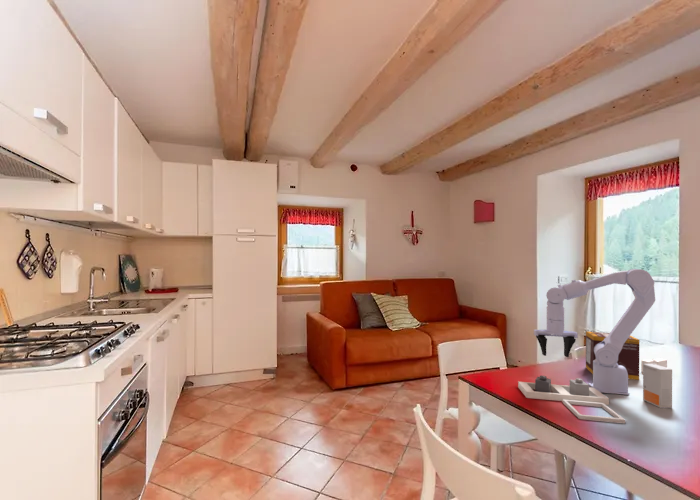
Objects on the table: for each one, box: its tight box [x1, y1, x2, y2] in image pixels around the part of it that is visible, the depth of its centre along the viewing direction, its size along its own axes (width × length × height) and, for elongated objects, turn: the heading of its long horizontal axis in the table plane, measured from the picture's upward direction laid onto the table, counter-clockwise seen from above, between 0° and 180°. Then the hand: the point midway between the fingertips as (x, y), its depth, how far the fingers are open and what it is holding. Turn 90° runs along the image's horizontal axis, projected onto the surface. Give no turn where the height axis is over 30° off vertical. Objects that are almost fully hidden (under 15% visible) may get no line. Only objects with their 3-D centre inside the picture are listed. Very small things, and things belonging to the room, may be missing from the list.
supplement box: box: [585, 330, 640, 381], centre depth 141 cm, size 10×15×16 cm
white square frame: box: [562, 399, 626, 424], centre depth 103 cm, size 12×12×1 cm
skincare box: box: [642, 364, 673, 409], centre depth 111 cm, size 6×4×12 cm
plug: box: [534, 375, 552, 393], centre depth 117 cm, size 4×4×6 cm
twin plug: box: [569, 377, 590, 396], centre depth 115 cm, size 4×4×6 cm
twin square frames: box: [517, 381, 610, 406], centre depth 116 cm, size 24×10×2 cm, turn 79°
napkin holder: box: [640, 358, 668, 374], centre depth 144 cm, size 15×11×6 cm
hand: (555, 355), depth 131 cm, fingers open, 7 cm apart
